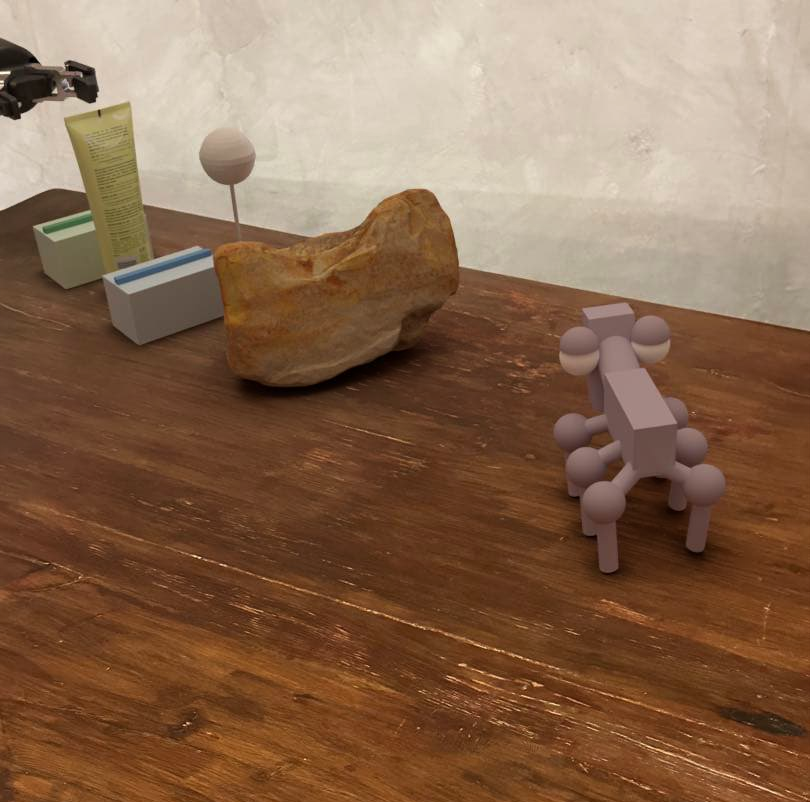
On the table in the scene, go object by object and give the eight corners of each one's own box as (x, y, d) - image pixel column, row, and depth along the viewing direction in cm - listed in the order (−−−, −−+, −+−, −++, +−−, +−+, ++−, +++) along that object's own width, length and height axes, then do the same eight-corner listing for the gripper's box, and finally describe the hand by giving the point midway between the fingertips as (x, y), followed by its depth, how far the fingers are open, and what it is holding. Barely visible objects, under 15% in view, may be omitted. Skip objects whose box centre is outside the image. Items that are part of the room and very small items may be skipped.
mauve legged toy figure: (526, 434, 96) (530, 286, 88) (648, 422, 97) (663, 274, 89) (581, 580, 80) (592, 416, 72) (726, 565, 81) (753, 400, 73)
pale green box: (65, 289, 124) (52, 236, 121) (44, 273, 128) (31, 220, 125) (155, 261, 130) (145, 209, 126) (131, 246, 133) (121, 195, 130)
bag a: (139, 346, 113) (126, 288, 109) (112, 325, 117) (100, 269, 113) (233, 312, 118) (225, 256, 114) (205, 294, 122) (196, 239, 118)
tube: (120, 280, 126) (81, 100, 114) (164, 280, 125) (130, 99, 114) (104, 302, 121) (63, 117, 110) (150, 302, 121) (113, 116, 109)
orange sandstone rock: (414, 297, 121) (399, 155, 112) (479, 350, 107) (467, 194, 99) (204, 350, 115) (171, 204, 107) (245, 413, 101) (212, 253, 93)
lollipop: (279, 257, 129) (263, 124, 120) (248, 276, 125) (229, 140, 116) (236, 248, 132) (217, 117, 123) (205, 267, 128) (183, 133, 119)
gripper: (-73, 50, 124) (-20, 77, 114) (49, 27, 131) (109, 51, 120) (-53, 119, 129) (-1, 152, 118) (63, 94, 136) (122, 123, 125)
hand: (54, 101), depth 119 cm, fingers open, 8 cm apart
